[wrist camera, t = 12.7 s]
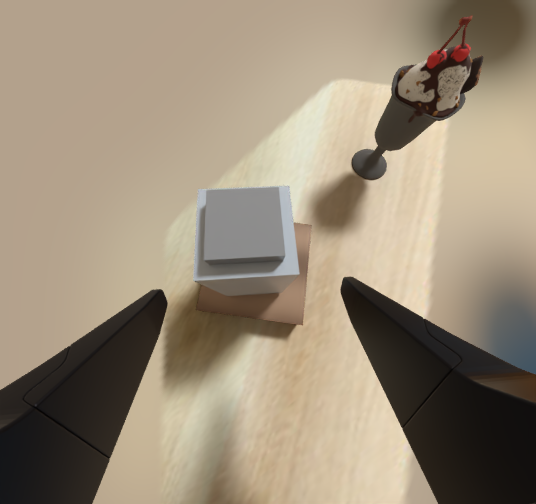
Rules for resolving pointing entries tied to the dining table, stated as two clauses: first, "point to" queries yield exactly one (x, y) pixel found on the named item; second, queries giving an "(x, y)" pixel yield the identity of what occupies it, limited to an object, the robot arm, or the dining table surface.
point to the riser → (267, 305)
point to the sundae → (421, 101)
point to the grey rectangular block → (245, 240)
